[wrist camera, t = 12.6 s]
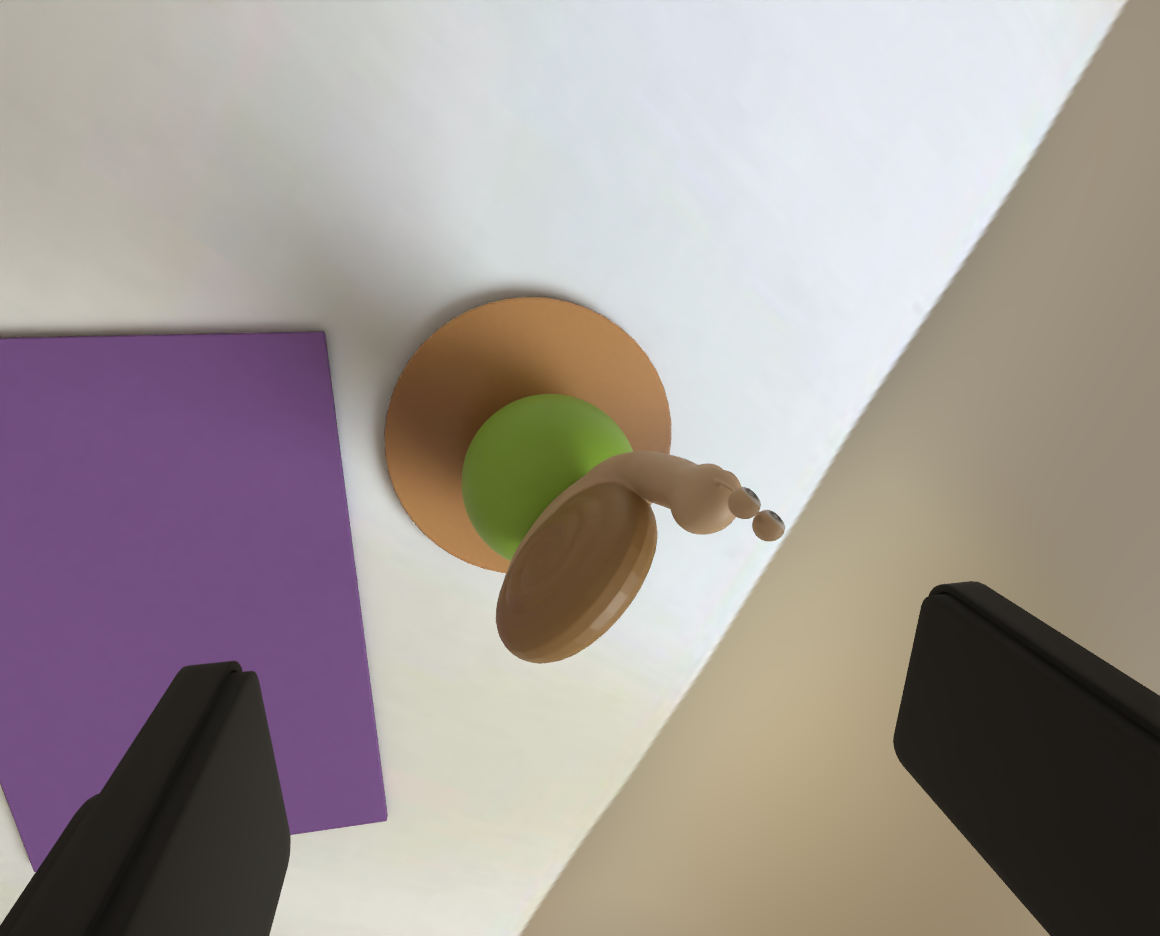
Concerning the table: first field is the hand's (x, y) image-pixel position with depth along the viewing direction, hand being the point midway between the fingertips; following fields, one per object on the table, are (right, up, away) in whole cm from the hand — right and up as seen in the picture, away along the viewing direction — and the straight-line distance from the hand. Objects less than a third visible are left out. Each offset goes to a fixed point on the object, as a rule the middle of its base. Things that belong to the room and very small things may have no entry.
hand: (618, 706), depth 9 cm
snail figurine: (-2, +4, +13) cm, 14 cm away
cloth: (-15, -2, +13) cm, 20 cm away
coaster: (-2, +4, +14) cm, 14 cm away
